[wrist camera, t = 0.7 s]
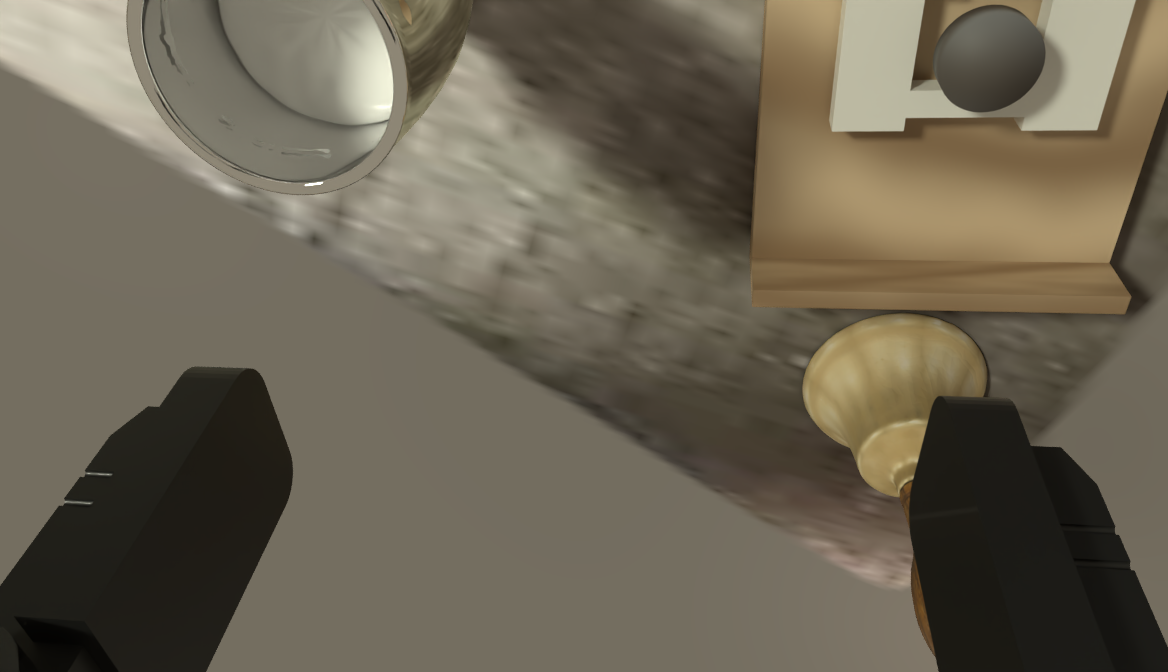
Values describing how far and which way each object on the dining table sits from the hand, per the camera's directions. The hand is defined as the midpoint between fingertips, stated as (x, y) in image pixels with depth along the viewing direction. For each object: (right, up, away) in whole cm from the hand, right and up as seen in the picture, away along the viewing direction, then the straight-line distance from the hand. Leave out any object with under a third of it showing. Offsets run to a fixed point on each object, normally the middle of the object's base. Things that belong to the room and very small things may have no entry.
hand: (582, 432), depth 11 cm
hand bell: (+15, -1, +32) cm, 35 cm away
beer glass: (-5, +16, +22) cm, 28 cm away
